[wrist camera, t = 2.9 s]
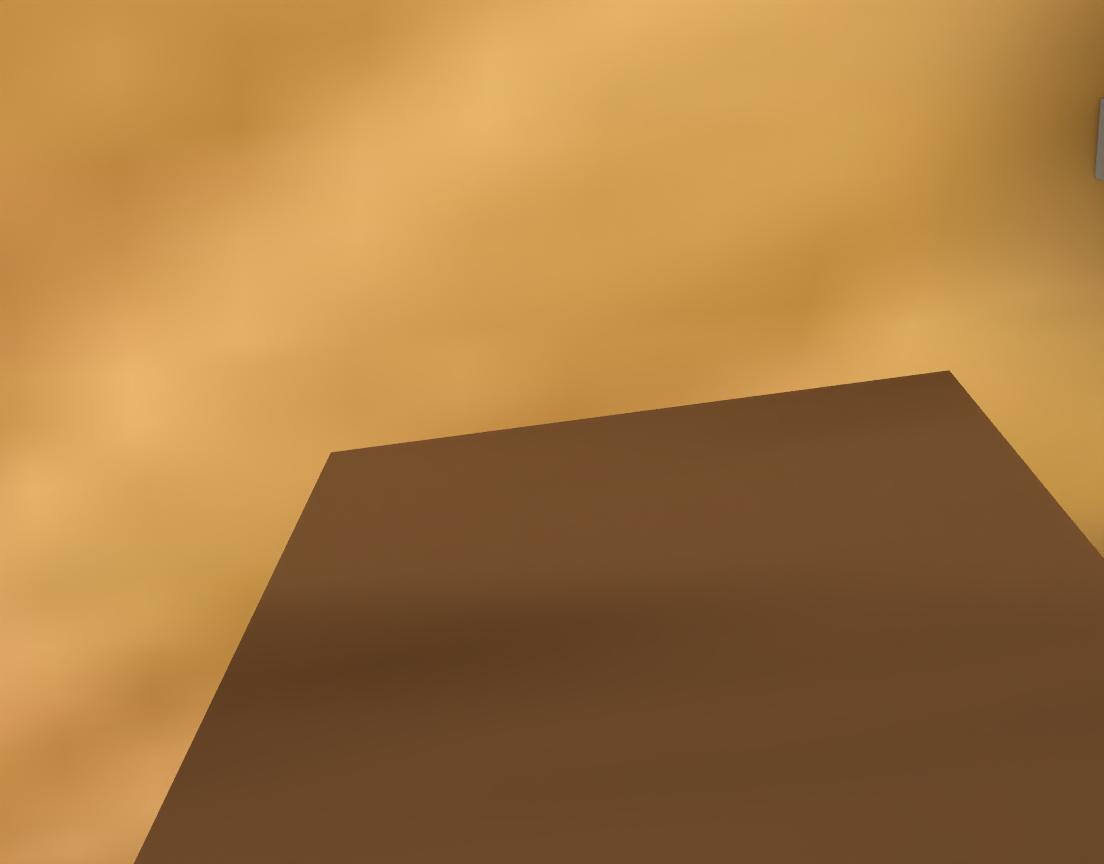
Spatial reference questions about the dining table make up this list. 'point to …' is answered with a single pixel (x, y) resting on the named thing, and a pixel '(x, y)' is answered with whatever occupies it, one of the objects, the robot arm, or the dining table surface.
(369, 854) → the walnut block
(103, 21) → the dining table surface
